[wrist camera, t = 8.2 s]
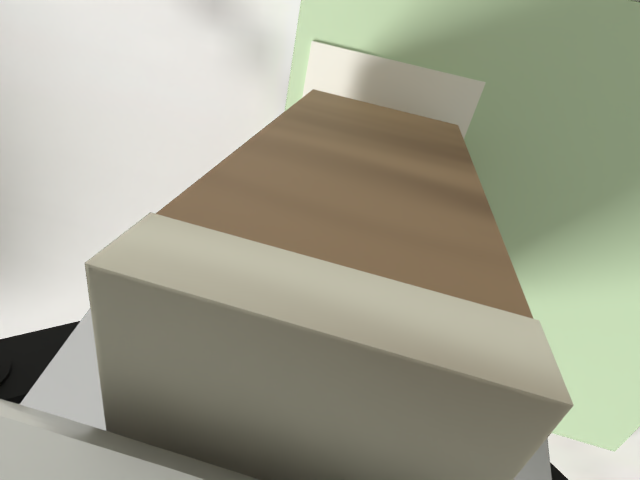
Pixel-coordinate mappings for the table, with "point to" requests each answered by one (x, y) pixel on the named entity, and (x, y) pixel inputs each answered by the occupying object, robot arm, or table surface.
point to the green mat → (523, 155)
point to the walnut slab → (327, 310)
